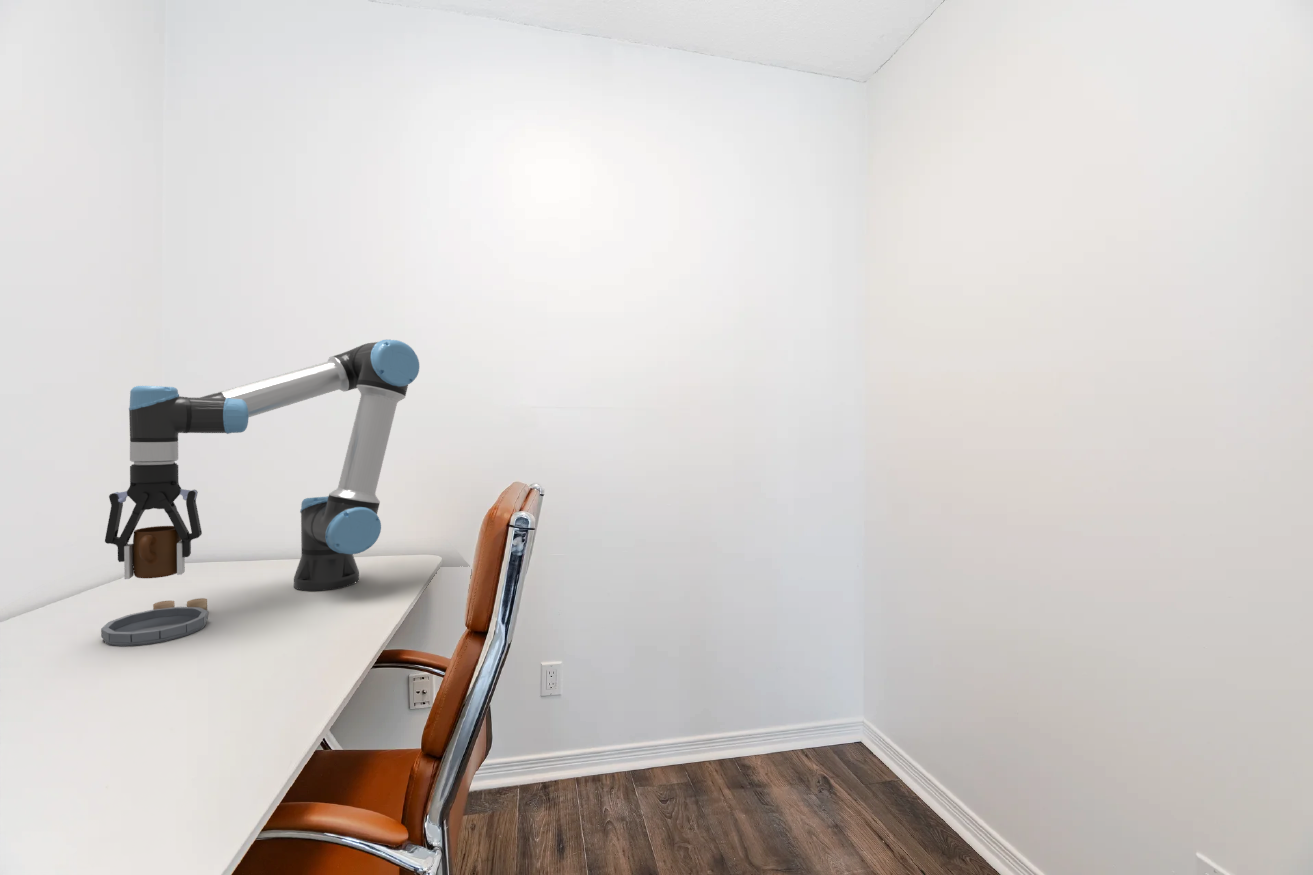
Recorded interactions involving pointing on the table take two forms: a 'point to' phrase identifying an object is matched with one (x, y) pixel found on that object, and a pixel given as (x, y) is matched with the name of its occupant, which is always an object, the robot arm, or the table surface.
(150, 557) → the mug
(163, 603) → the bead
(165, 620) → the saucer
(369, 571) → the table surface
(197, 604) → the bead
